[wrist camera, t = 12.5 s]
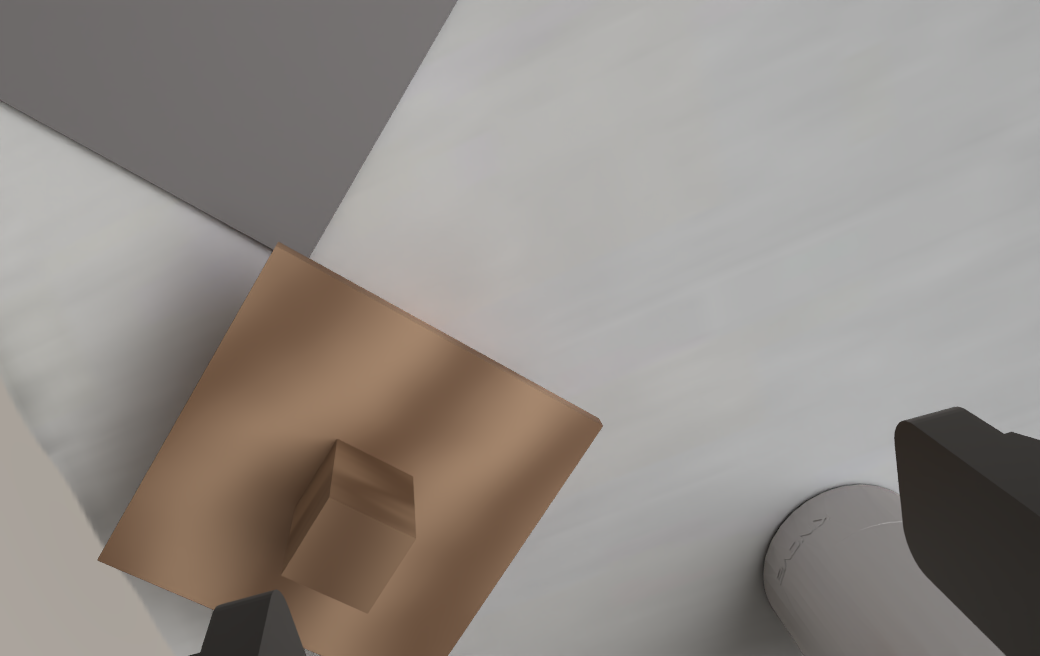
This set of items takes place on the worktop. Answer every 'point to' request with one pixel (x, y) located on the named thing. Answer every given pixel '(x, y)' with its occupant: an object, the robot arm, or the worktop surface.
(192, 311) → the worktop surface
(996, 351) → the worktop surface
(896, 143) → the worktop surface
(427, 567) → the walnut lid
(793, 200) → the worktop surface
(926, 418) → the robot arm
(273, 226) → the charcoal mat
